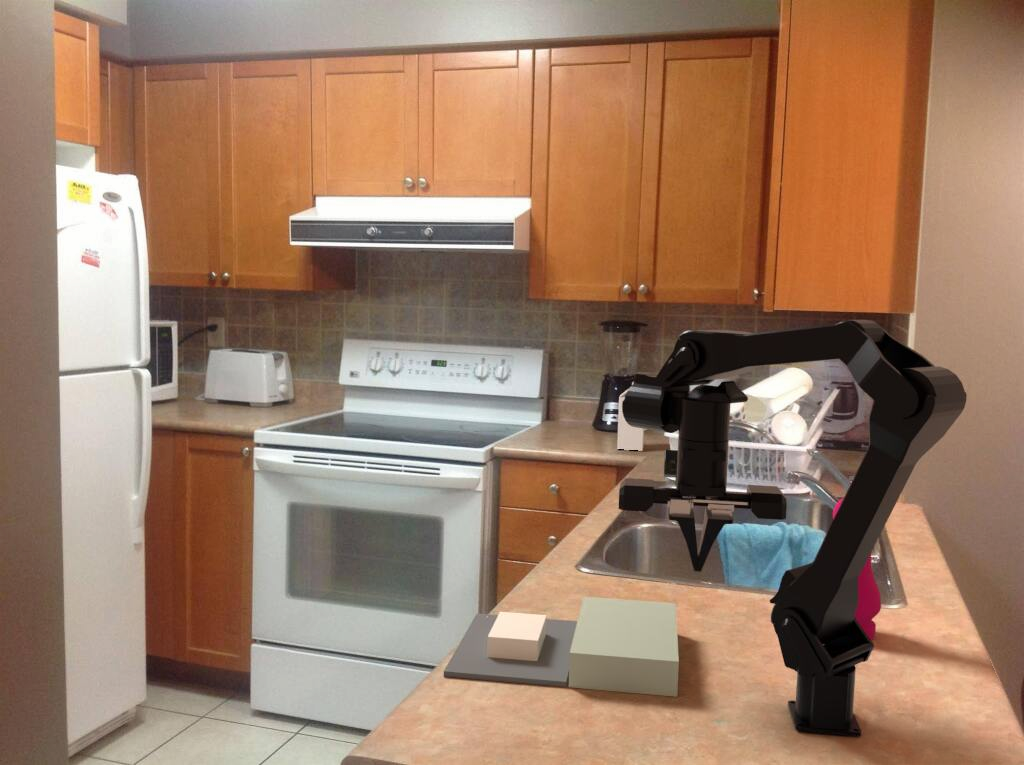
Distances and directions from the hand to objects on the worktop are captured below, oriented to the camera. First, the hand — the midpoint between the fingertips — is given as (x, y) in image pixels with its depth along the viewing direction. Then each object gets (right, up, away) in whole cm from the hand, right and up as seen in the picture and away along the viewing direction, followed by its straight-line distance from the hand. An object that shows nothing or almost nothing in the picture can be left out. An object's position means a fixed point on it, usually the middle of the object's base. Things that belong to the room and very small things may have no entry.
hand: (697, 570), depth 111 cm
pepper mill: (+23, -11, +15) cm, 30 cm away
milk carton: (+12, +3, +159) cm, 160 cm away
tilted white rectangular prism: (-21, -9, +6) cm, 24 cm away
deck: (-8, -11, +4) cm, 15 cm away
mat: (-21, -11, +6) cm, 25 cm away
